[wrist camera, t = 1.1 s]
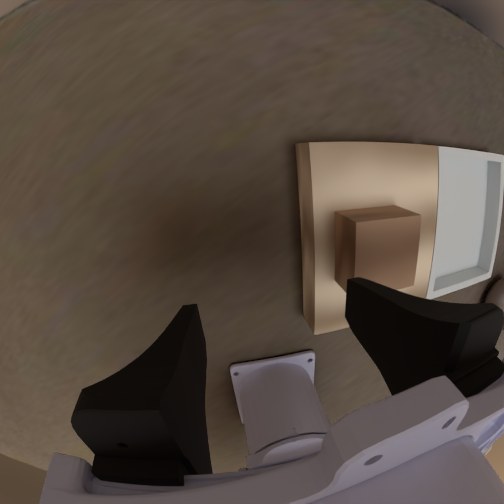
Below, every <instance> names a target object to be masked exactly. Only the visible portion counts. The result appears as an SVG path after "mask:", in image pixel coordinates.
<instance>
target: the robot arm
mask: <svg viewBox="0 0 504 504" xmlns="http://www.w3.org/2000/svg"><path fill="white" fill-rule="evenodd" d="M345 318H346V320H347V322H348V324H349V326H350V328H351V330H352V332H353V333H354V335H355V336H356V338H357V339H358V340H359V342H360V343H361V345H362V346H363V347H364V349H365V350H366V352H367V353H368V354H369V356H370V357H371V358H372V360H373V361H374V363H375V364H376V366H377V367H378V369H379V370H380V372H381V374H382V376H383V378H384V380H385V382H386V384H387V386H388V388H389V390H390V392H391V394H392V396H390V397H388V398H385V399H382V400H380V401H377V402H374V403H372V404H369V405H366V406H363V407H361V408H359V409H357V410H355V411H353V412H350V413H348V414H346V415H345V416H343V417H342V418H341V419H340V420H338V421H337V422H336V423H334V424H333V425H332V426H331V424H330V422H329V419H328V417H327V415H326V412H325V410H324V408H323V406H322V403H321V401H320V399H319V396H318V394H317V392H316V390H315V387H314V368H315V353H314V352H313V351H311V350H310V351H305V352H300V353H295V354H290V355H285V356H280V357H275V358H269V359H264V360H258V361H252V362H246V363H239V364H233V365H231V366H230V373H231V378H232V382H233V387H234V392H235V396H236V401H237V405H238V409H239V414H240V418H241V422H242V423H243V424H244V427H245V433H246V439H247V445H248V451H249V455H248V456H246V460H247V466H248V468H240V469H239V470H238V471H237V472H228V473H218V474H213V473H212V467H211V460H210V453H209V445H208V436H207V427H206V415H205V387H206V368H207V355H206V341H205V337H204V333H203V329H202V324H201V320H200V316H199V311H198V306H197V304H191V305H183V306H182V308H181V309H180V310H179V312H178V313H177V314H176V316H175V317H174V319H173V320H172V321H171V323H170V324H169V325H168V327H167V328H166V329H165V331H164V332H163V333H162V334H161V335H160V336H159V337H158V339H157V340H156V341H155V342H154V343H153V344H152V345H151V346H150V347H149V348H148V349H147V350H146V351H145V352H144V353H143V354H141V355H140V356H139V357H138V358H136V359H135V360H134V361H132V362H131V363H130V364H128V365H127V366H126V367H124V368H123V369H121V370H120V371H118V372H117V373H115V374H113V375H111V376H110V377H108V378H106V379H104V380H102V381H100V382H98V383H95V384H93V385H91V386H89V387H86V388H84V389H82V391H81V393H80V396H79V398H78V401H77V403H76V406H75V409H74V411H73V414H72V418H71V423H72V427H73V429H74V430H75V432H76V433H77V435H78V436H79V437H80V438H81V439H82V441H83V442H84V443H85V444H86V445H87V446H88V447H89V448H90V449H91V451H92V452H93V453H94V454H95V456H94V461H93V465H92V466H91V465H90V464H89V463H88V462H87V461H86V460H84V459H82V458H79V457H76V456H71V455H65V454H60V453H53V455H52V459H51V462H50V465H49V468H48V472H47V475H46V479H45V483H44V486H43V490H42V494H41V499H40V503H39V504H504V484H503V482H502V480H501V479H500V478H499V476H498V475H497V473H496V472H495V470H494V469H493V467H492V466H491V465H490V463H489V462H488V460H487V459H486V458H485V456H484V455H483V453H482V452H483V451H485V450H486V449H487V448H488V447H489V446H490V445H491V444H492V443H493V442H495V441H496V440H497V439H498V438H499V437H500V436H501V435H502V434H503V433H504V359H503V360H502V361H501V360H500V359H499V358H498V357H497V356H498V354H499V351H498V350H497V349H496V348H495V345H496V343H497V340H498V338H499V335H500V333H501V330H502V327H503V324H504V312H503V310H502V309H501V308H499V307H498V306H497V305H495V304H493V303H480V304H459V303H448V302H441V301H435V300H430V299H425V298H421V297H417V296H413V295H410V294H407V293H404V292H401V291H398V290H395V289H392V288H390V287H387V286H384V285H382V284H379V283H376V282H374V281H371V280H368V279H365V278H361V277H356V278H351V279H347V290H346V306H345ZM310 358H311V359H310ZM308 359H310V360H308ZM235 372H238V373H235Z"/></svg>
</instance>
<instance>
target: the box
mask: <svg viewBox="0 0 504 504" xmlns="http://www.w3.org/2000/svg"><path fill="white" fill-rule="evenodd" d="M503 187H504V155H499V154H494V153H488V152H481V151H475V150H468V149H460V148H452V147H443V146H438V200H437V217H436V229H435V239H434V248H433V256H432V263H431V270H430V276H429V282H428V288H427V293H426V298H425V299H433V298H436V297H439V296H442V295H445V294H448V293H451V292H453V291H456V290H459V289H462V288H465V287H467V286H470V285H473V284H475V283H478V282H481V281H483V280H486V279H488V278H491V274H492V269H493V265H494V260H495V255H496V249H497V243H498V237H499V230H500V222H501V213H502V202H503Z"/></svg>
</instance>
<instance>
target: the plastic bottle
mask: <svg viewBox="0 0 504 504" xmlns="http://www.w3.org/2000/svg"><path fill="white" fill-rule="evenodd" d="M484 303H493V304H495V305H497V306H498V307H499V308H501V309H502V310H503V312H504V279H500V280H498V281H496V282H495V283H494V284H493V286H492V287H491V288H490V290H489V292H488V294H487V296H486V298H485V301H484ZM502 330H504V324H503V327H502Z"/></svg>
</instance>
